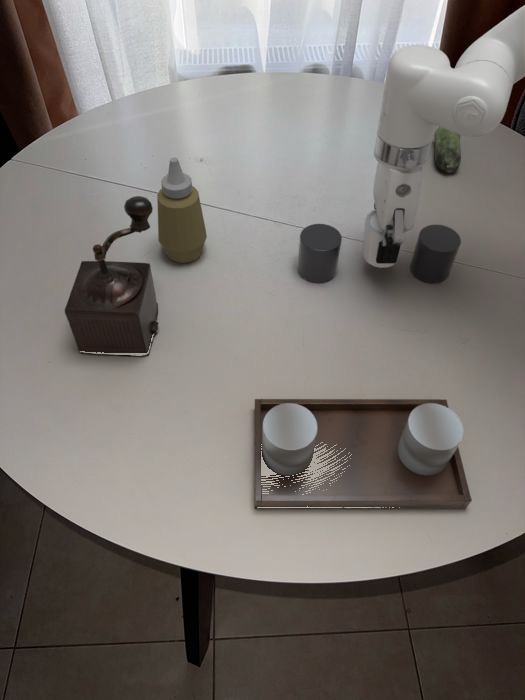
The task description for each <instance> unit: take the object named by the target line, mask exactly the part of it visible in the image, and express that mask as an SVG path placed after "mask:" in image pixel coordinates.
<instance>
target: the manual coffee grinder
mask: <svg viewBox="0 0 525 700" xmlns="http://www.w3.org/2000/svg"><path fill="white" fill-rule="evenodd" d="M123 208H124V212H125V214H127V216H129V218H130V219H131V222H130V225H129V227H128V228H124V229H123V228H122V229H120V230H117V231H115V232H113V233H111V234H110V235H108V236H107V237H106V239H105V240H104V242H103V243H102V244H97V243H96V244H94V245H93V246H92V251H93V254H94V256H93V257H94V260H81V262H80V265H79V268H78V271H77V273H76V277H75V279H74V283H73V285H72V287H71V290H70V292H69V296H68V300H67V303H66V305H65V307H64V314H65V317H66V319H67V322H68V324H69V327H70V329H71V332H72V335H73V337H74V340H75V344H76V346H77V349H78V352H79V351H85V352H96V353H97V352H101V353H102V352H104V353H147V352H148V350H149V346H150V343H151V338H152V335H153V334H154V333H156V334H157V333H158V330H159V321H157V322H156V318H157V319H158V317H157V316H159V304H158V300H157V295H156V289H155V284H154V280H153V274H152V268H151V266H152V265H151V263H150V262H137V261H136V262H135V261H134V262H132V261H111V260H109V261H108V260H106V259H107V258H106V257H107V256H106V255H107V253H108V252H109V249H110V248H111V246H112V244H113V243H114V242H115V241H116V240H118V239H120V238H122V237H126V236H129V235H131V234H134V233H142V232H146V231H147V230H149V229H150V228H151V225H150V223H149V217H150V215H151V214H152V213H153V210H154V209H153V208H154V207H153V205H152V202H151V201H150V200H149V199H148V197H144V196H140V195H137V196H136V195H135V196H132V197H130V198H128V199H126V200H125V203H124V206H123Z"/></svg>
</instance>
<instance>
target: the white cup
mask: <svg viewBox="0 0 525 700" xmlns="http://www.w3.org/2000/svg"><path fill="white" fill-rule="evenodd" d="M389 224H393V221H391V222H390V223H389ZM382 232H383V229H382V228H381V227H380V224H379V220H378V216H377V211H376V210H374V209H373V210H372V211H370V212H369V213H368V214H367V215H366V217H365V220H364V232H363V233H364V235H363V254H362V255H363V259H364V260H365V262H366V263H367V264H368V265H371V266H373V267H376V268H380V269H381V268H389V267H392V266H394V265H396V263H388V264H378V263H376V257H377V251H378V246H379V242H381V241H382ZM408 232H409V229H408V230H406V228H405V224H404V221H403V243H402V244H401V246H400V250H399V254H398V259H399V257H400V254H401V252H402V249H403V245H404V244H405V240H406V238H407V235H408ZM392 236H393V230H388V233H387V238H388V237H392ZM398 259H397V261H398Z"/></svg>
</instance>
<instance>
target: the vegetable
mask: <svg viewBox="0 0 525 700" xmlns="http://www.w3.org/2000/svg"><path fill="white" fill-rule="evenodd" d="M433 140H434V160H435V164H436V166H437V169H439V170H440V171H442V172H444V173H447V174H448V173H449V174H450V173H453V172H456V171H457V169H459V167H460V165H461V162H462V150H461V135H459V134H456V133H453V132H451V131H449V130H446V129H444V128H442V127H439V126H437V127H436V130H435V134H434V138H433Z"/></svg>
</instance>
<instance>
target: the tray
mask: <svg viewBox="0 0 525 700" xmlns="http://www.w3.org/2000/svg"><path fill="white" fill-rule="evenodd" d="M464 433H465V431H464V425H463V422H462V420H461V419H460V417H459V415H457V413H455V411H453V410H452V409H451V408H449V404H448V400H447V399H435V398H434V399H433V398H431V399H429V398H428V399H426V398H425V399H424V398H422V399H418V398H417V399H416V398H409V399H408V398H407V399H405V398H404V399H403V398H399V399H398V398H397V399H396V398H392V399H391V398H387V399H386V398H254V508H255V507H307V506H308V507H381V508H382V507H384V508H385V507H387V508H389V507H390V508H392V507H394V508H399V507H400V508H415V509H467V508H468V507H469V505H470V504H471V503H472V496H471V493H470V489H469V485H468V481H467V480H468V479H467V477H466V472H465V469H464V464H463V460H462V457H461V453H460V449H459V446H460V444H461V442H462V441H463V438H464ZM321 442H323V443H321ZM320 443H321V444H320ZM261 444H262V445H261ZM318 444H319V445H318ZM324 444H327V445H325V446H324V447H322V448H321V449H319V450H317V451H315V452H314V448H316V449H317V448H319V447H321V446H323V445H324ZM336 444H337V445H336ZM316 445H318V446H316ZM334 445H336V446H334ZM261 446H262V447H261ZM315 446H316V447H315ZM327 446H328V447H327ZM333 446H334V447H333ZM325 447H326V450H328V449H330V448H331V447H333V448H331V449H330V450H328V451H327V452H325V453H324V454H322V455H320V456H318V457H317V458H319V457H321V456H323V455H325V454H327V453H329V452H330V451H332V450H334V449H335V450H334V451H333V452H332V453H331V454H333V453H334V452H335V453H334V454H333V455H331V454H329V455H331V456H329V455H328V456H329V457H328V458H326V457H327V456H326V457H324V458H326V459H324V458H322V459H324V460H323V461H321V462H319V463H322V462H324V461H326V460H328V459H330V458H332V457H333V456H335V455H337V454H338V453H340V452H341V451H343V450H344V449H345V448H346V449H345V450H344V451H343V452H341V453H340V454H339V455H337V456H336V457H335V458H336V460H334V459H335V458H333V459H331V460H330V461H332V460H334V461H332V462H330V461H328V462H330V463H328V462H327V463H328V464H327V465H325V466H323V467H326V466H328V465H330V464H332V463H334V462H336V461H337V460H339V459H341V458H342V457H344V456H345V455H346V456H345V457H344V458H342V459H341V460H340V461H338V462H337V463H338V464H337V463H335V464H334V465H335V466H334V465H332V466H334V467H332V466H330V467H332V468H330V467H329V468H330V469H329V470H331V469H333V468H335V467H337V466H339V465H341V464H343V463H344V462H346V461H347V460H348V461H347V462H346V463H344V464H343V465H341V466H340V467H338V468H337V469H339V468H340V469H339V470H337V469H335V470H337V471H335V470H333V471H335V472H334V473H335V474H334V473H332V474H334V475H332V474H329V473H331V472H333V471H329V470H327V471H329V472H327V471H325V472H327V473H325V472H323V473H325V474H323V475H321V476H323V477H321V476H319V477H321V478H319V477H316V478H318V479H317V480H320V479H323V478H325V477H328V476H330V475H332V476H330V477H328V478H326V479H324V480H326V481H324V480H322V481H324V482H322V481H319V482H322V483H320V484H322V485H320V484H317V485H319V486H317V485H313V484H316V483H319V482H316V483H311V482H315V481H317V480H314V481H311V482H308V483H311V484H308V483H303V482H307V481H310V480H305V479H308V478H311V477H307V478H304V479H300V480H295V479H299V478H303V477H306V476H303V477H297V476H301V475H304V474H308V473H302V472H305V471H309V470H305V469H307V468H309V467H308V466H309V465H310V463H311V461H312V458H313V454H314V453H316V452H318V451H320V450H322V449H324V448H325ZM261 448H262V450H261ZM340 448H341V449H340ZM326 450H325V451H326ZM337 450H338V451H337ZM261 451H262V457H263V460H264V462H265V464H266V465H267V467H268V468H269V469H271V470H272V471H273V472H275V473H277V474H276V475H281V476H279V477H284V478H279V477H268V478H261V477H266V476H261ZM336 451H337V452H336ZM323 452H324V451H323ZM323 452H321V453H323ZM349 452H350V453H349ZM321 453H320V454H321ZM348 453H349V454H348ZM351 454H352V455H351ZM318 455H319V454H318ZM350 455H351V456H350ZM316 456H317V455H316ZM349 456H350V457H349ZM337 457H338V458H337ZM347 457H348V458H347ZM317 458H316V459H317ZM346 458H347V459H346ZM350 458H351V459H350ZM322 459H320V460H322ZM344 459H346V460H344ZM342 460H343V461H342ZM339 462H340V463H339ZM314 463H315V462H314ZM319 463H317V464H319ZM325 464H326V463H325ZM336 464H337V465H336ZM323 465H324V464H323ZM349 465H350V466H349ZM347 466H348V467H347ZM310 467H311V466H310ZM323 467H321V468H323ZM341 467H342V468H341ZM321 468H319V469H321ZM344 468H346V469H344ZM319 469H317V470H319ZM327 469H328V468H327ZM342 469H344V470H342ZM315 471H316V470H315ZM322 471H323V470H322ZM344 471H345V472H344ZM312 472H313V471H312ZM320 472H321V471H320ZM342 472H343V473H342ZM299 473H301V474H299ZM310 473H311V472H310ZM317 473H318V472H317ZM340 473H342V474H340ZM296 474H298V475H296ZM314 474H315V473H314ZM321 474H322V473H321ZM326 474H329V475H326ZM338 474H339V475H338ZM276 475H270V476H276ZM292 475H294V476H292ZM310 475H313V473H312V474H310ZM310 475H307V476H310ZM319 475H320V474H319ZM324 475H325V476H324ZM336 475H337V476H336ZM341 475H342V476H341ZM285 476H290V477H285ZM334 476H335V477H334ZM339 476H340V477H339ZM293 477H294V478H293ZM337 477H338V478H337ZM272 478H278V479H273V480H266V481H275V482H272V483H278V484H274V485H280V486H274V485H261V484H271V483H261V482H266V481H261V479H272ZM288 478H289V479H288ZM316 478H314V479H316ZM329 478H330V479H329ZM335 478H337V479H335ZM283 479H284V480H283ZM327 479H328V480H327ZM333 479H335V480H333ZM276 480H279V481H276ZM291 480H293V481H291ZM301 480H303V481H301ZM311 480H313V479H311ZM330 480H333V481H330ZM336 480H337V481H336ZM297 481H300V482H297ZM334 481H335V482H334ZM279 482H280V483H279ZM293 482H296V483H293ZM332 482H333V483H332ZM323 483H324V484H323ZM329 483H331V484H329ZM282 484H283V485H282ZM305 484H308V485H305ZM290 485H291V486H290ZM301 485H305V486H301ZM309 485H310V486H309ZM311 485H313V486H311ZM330 485H331V486H330ZM263 486H271V487H263ZM284 486H286V487H284ZM306 486H307V487H306ZM314 486H317V487H314ZM277 487H279V488H277ZM302 487H304V488H302ZM311 487H314V488H311ZM318 487H319V488H318ZM268 488H270V489H268ZM299 488H301V489H299ZM309 488H311V489H309ZM315 488H316V489H315ZM262 489H267V490H262ZM312 489H314V490H312ZM319 489H320V490H319ZM326 489H327V490H326ZM271 490H273V491H271ZM299 490H300V491H299ZM308 490H311V491H308ZM323 490H324V491H323ZM262 491H269V492H262ZM295 491H296V492H295ZM305 491H308V492H305ZM309 492H311V493H309ZM262 493H269V494H262ZM306 493H308V494H306ZM302 494H304V495H302Z"/></svg>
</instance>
